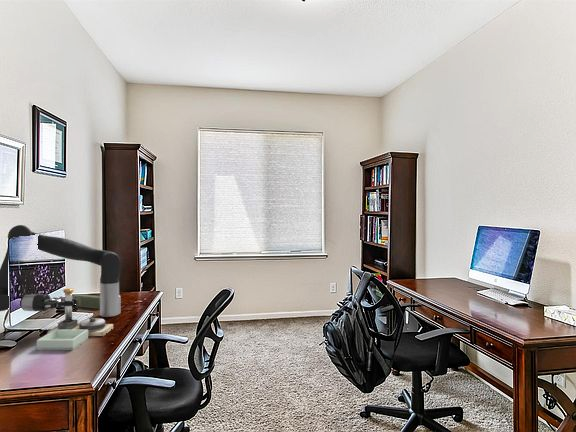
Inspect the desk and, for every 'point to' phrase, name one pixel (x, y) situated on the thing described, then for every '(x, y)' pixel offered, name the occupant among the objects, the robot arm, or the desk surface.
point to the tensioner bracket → (86, 326)
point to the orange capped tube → (68, 308)
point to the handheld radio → (87, 301)
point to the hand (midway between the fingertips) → (75, 302)
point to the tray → (62, 340)
